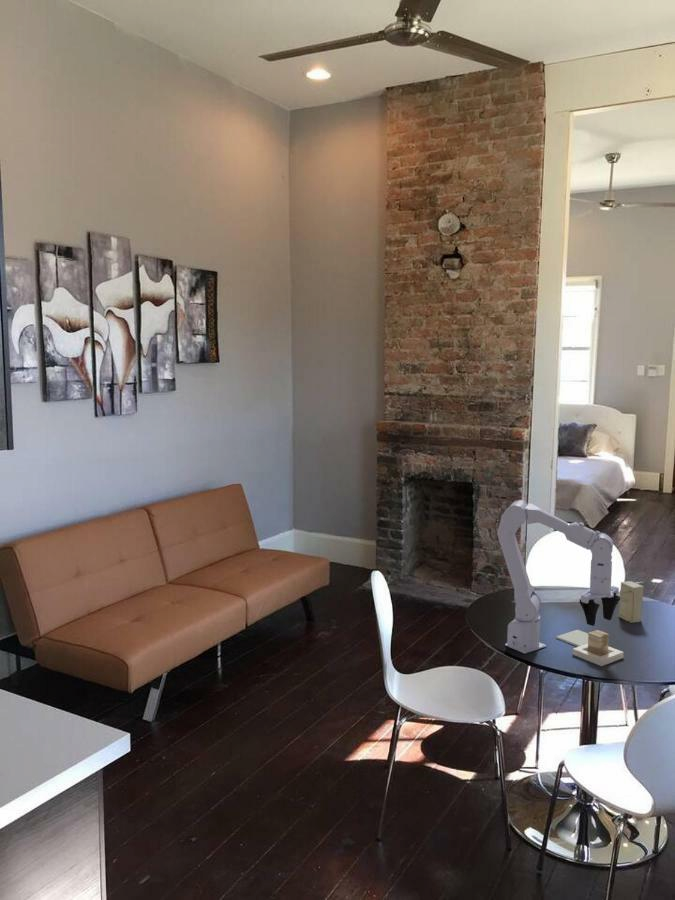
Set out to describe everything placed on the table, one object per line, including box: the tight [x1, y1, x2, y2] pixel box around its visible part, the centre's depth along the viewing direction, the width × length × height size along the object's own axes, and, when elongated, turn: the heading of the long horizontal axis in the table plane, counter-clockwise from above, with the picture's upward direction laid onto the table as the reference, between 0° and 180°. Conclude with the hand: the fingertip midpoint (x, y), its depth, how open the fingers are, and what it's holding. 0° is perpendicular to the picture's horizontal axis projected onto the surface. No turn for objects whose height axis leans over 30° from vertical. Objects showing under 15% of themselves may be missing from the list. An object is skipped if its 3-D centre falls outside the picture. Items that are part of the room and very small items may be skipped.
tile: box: [555, 629, 589, 647], centre depth 228 cm, size 10×10×1 cm
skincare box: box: [618, 580, 645, 624], centre depth 244 cm, size 6×4×12 cm
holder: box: [572, 644, 625, 667], centre depth 215 cm, size 10×10×2 cm
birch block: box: [588, 629, 610, 656], centre depth 215 cm, size 4×4×7 cm
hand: (599, 621), depth 214 cm, fingers open, 7 cm apart
